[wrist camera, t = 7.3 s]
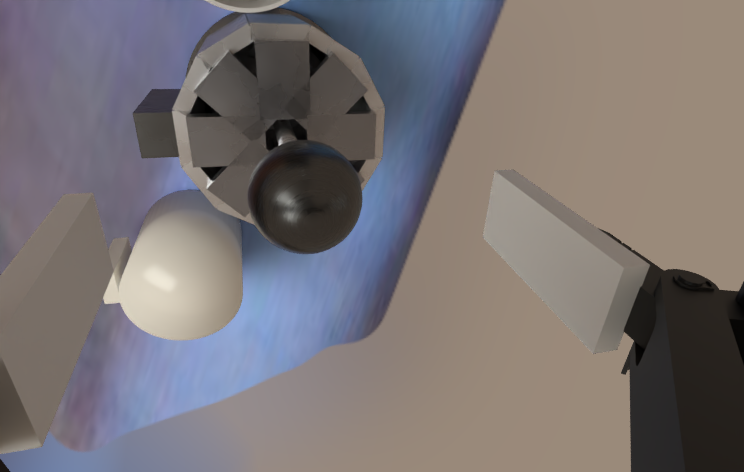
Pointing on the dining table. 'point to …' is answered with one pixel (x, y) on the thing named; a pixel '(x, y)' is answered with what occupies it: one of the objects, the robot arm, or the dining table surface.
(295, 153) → the plunger
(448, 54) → the dining table surface
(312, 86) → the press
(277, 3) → the cup
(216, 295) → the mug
